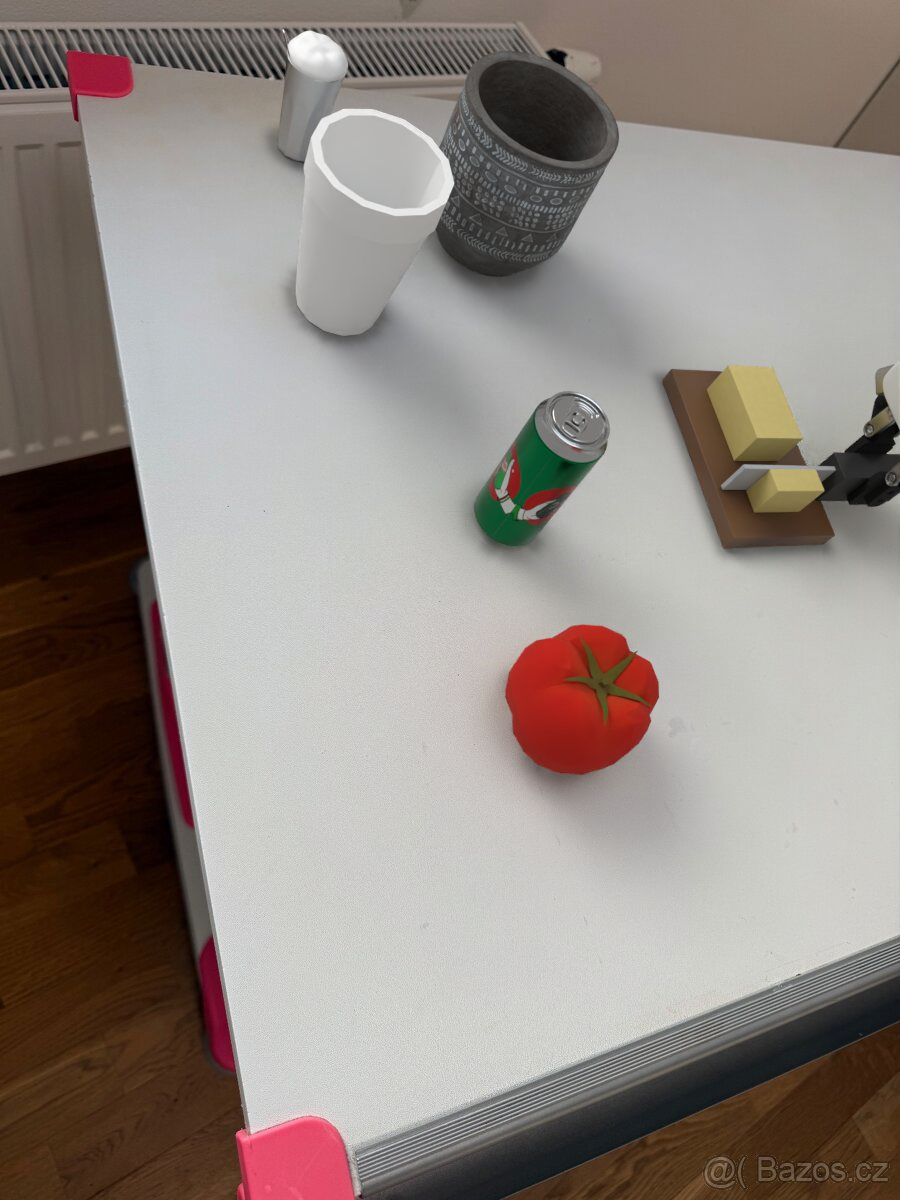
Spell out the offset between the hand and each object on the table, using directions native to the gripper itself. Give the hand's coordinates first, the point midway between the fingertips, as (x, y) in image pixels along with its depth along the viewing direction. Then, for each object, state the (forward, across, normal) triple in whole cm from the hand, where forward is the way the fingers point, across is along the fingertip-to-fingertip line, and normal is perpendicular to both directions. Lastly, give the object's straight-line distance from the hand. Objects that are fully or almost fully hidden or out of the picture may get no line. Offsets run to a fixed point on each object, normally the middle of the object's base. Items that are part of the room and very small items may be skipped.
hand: (854, 484), depth 80 cm
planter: (+2, +26, +27) cm, 37 cm away
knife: (+1, 0, +4) cm, 4 cm away
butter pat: (+1, -1, +8) cm, 9 cm away
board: (+2, +4, +8) cm, 9 cm away
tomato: (+2, -16, +31) cm, 36 cm away
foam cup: (+2, +17, +41) cm, 44 cm away
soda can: (+2, -2, +32) cm, 32 cm away
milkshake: (+2, +33, +42) cm, 53 cm away
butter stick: (+1, +6, +8) cm, 10 cm away
